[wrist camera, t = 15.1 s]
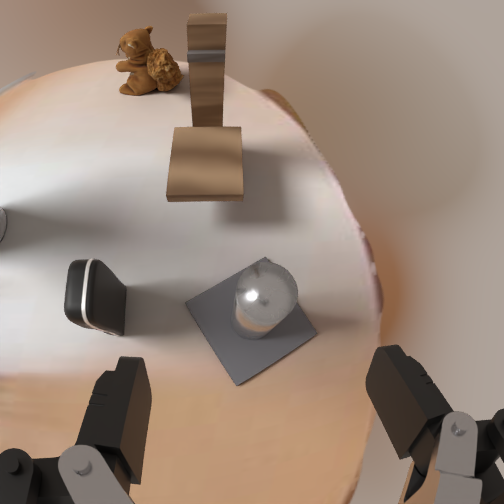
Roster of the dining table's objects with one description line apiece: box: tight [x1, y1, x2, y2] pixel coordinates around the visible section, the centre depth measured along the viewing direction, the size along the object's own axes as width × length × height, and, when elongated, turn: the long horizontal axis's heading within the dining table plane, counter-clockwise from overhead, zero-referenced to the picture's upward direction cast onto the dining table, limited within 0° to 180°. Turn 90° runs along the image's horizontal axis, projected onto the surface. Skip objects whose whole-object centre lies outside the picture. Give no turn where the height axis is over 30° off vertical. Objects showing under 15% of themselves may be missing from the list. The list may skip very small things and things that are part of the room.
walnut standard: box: [166, 13, 244, 202], centre depth 35 cm, size 16×9×24 cm, turn 3°
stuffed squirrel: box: [116, 26, 184, 95], centre depth 48 cm, size 10×14×13 cm
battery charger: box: [64, 259, 126, 336], centre depth 32 cm, size 7×4×11 cm, turn 3°
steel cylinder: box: [231, 262, 298, 340], centre depth 32 cm, size 5×5×14 cm
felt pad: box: [185, 257, 317, 386], centre depth 39 cm, size 12×12×1 cm
